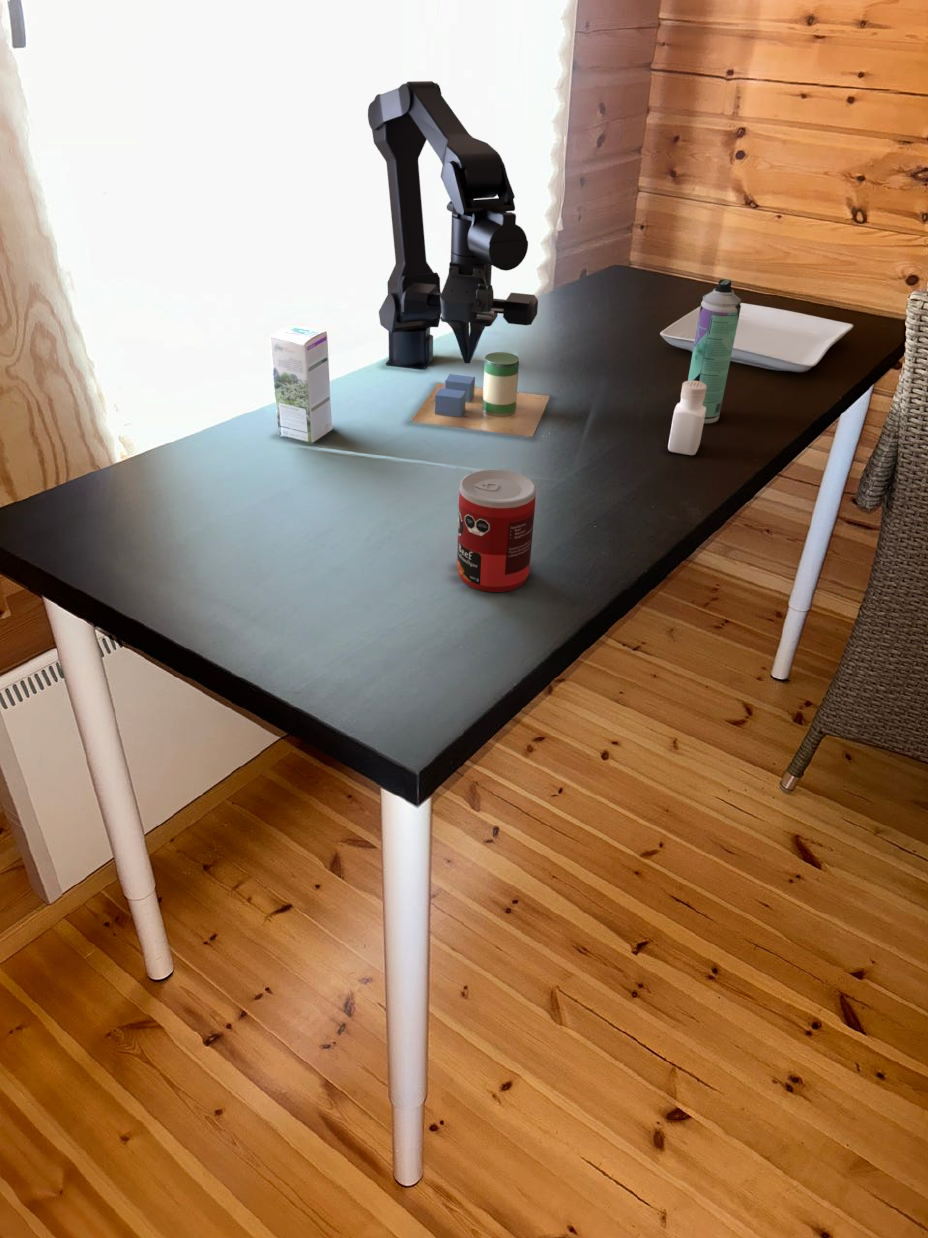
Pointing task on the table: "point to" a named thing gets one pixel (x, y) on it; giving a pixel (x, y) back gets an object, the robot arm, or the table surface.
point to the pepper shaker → (688, 419)
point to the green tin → (500, 384)
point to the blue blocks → (454, 395)
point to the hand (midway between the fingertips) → (467, 362)
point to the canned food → (495, 529)
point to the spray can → (715, 345)
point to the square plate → (769, 337)
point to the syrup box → (301, 382)
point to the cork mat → (476, 419)
